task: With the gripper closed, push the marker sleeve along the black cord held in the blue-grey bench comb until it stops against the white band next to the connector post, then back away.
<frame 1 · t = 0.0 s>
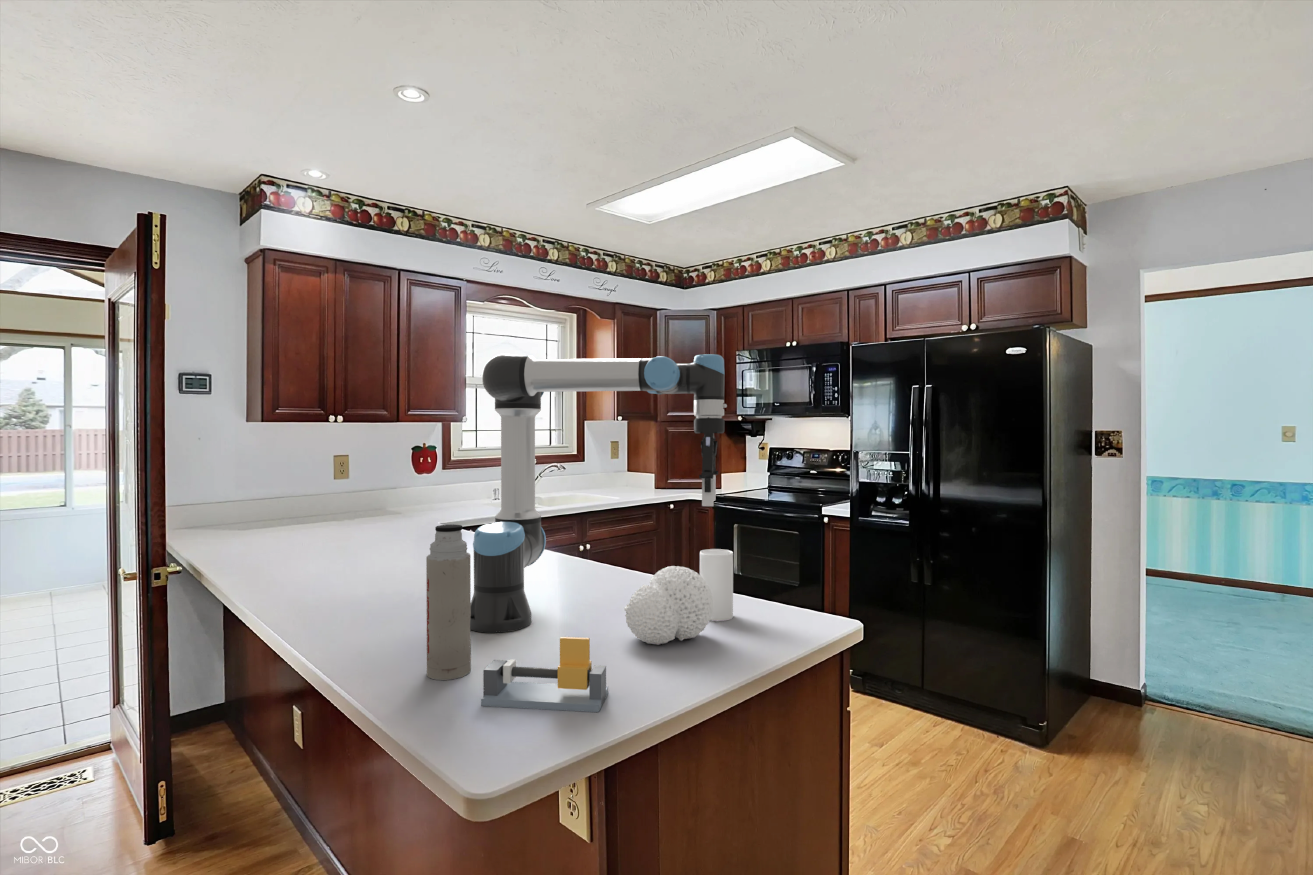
hand: (709, 503, 166), 28 cm above the worktop, fingers open, 13 cm apart
cord rig: (546, 699, 114), on the worktop
marker sleeve: (574, 661, 113), point 7 cm above the worktop, slide at 0.0 cm
thermos bottle: (448, 673, 127), on the worktop
white coral: (671, 641, 147), on the worktop
cup: (716, 617, 165), on the worktop
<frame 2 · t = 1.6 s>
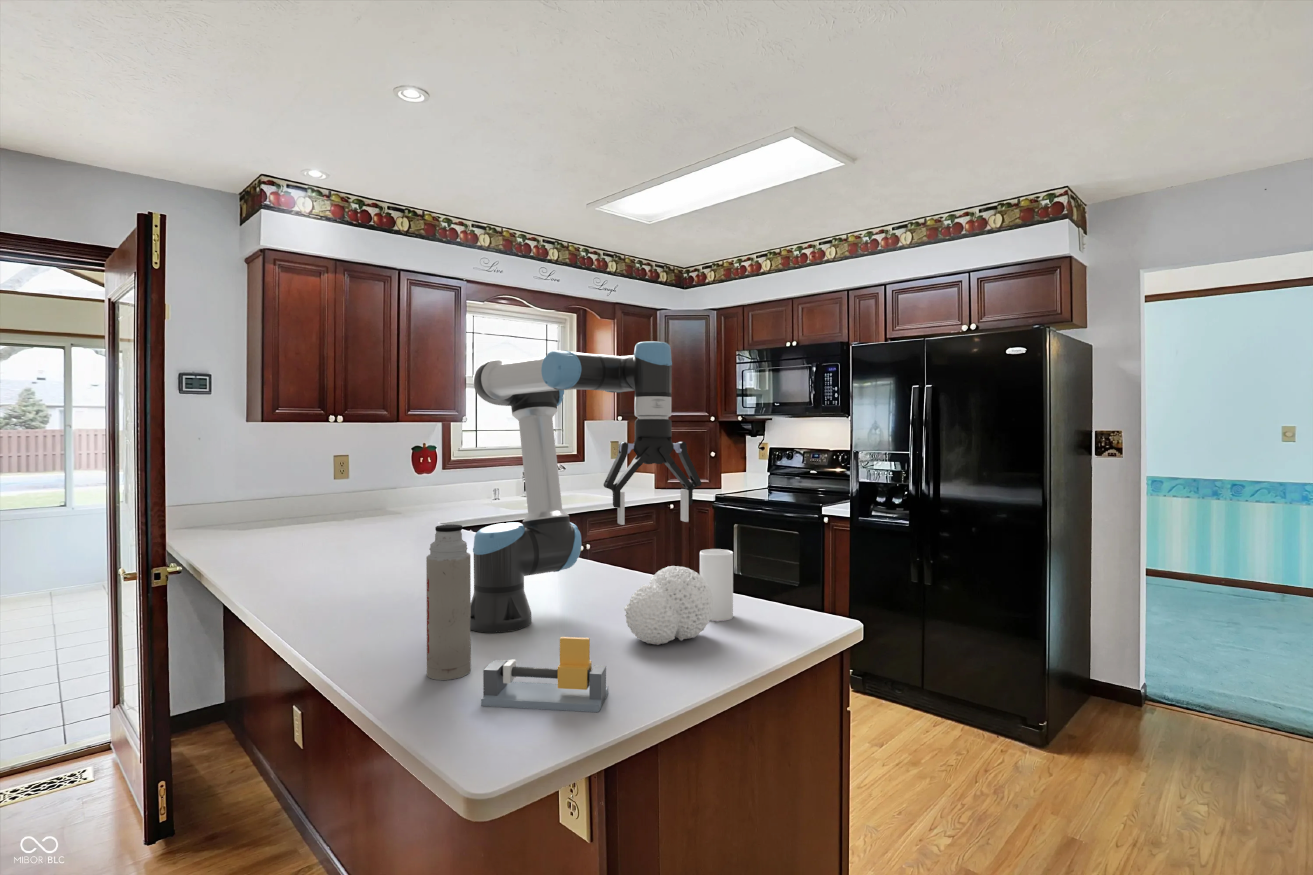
hand: (653, 522, 136), 27 cm above the worktop, fingers open, 13 cm apart
nothing on the worktop moved.
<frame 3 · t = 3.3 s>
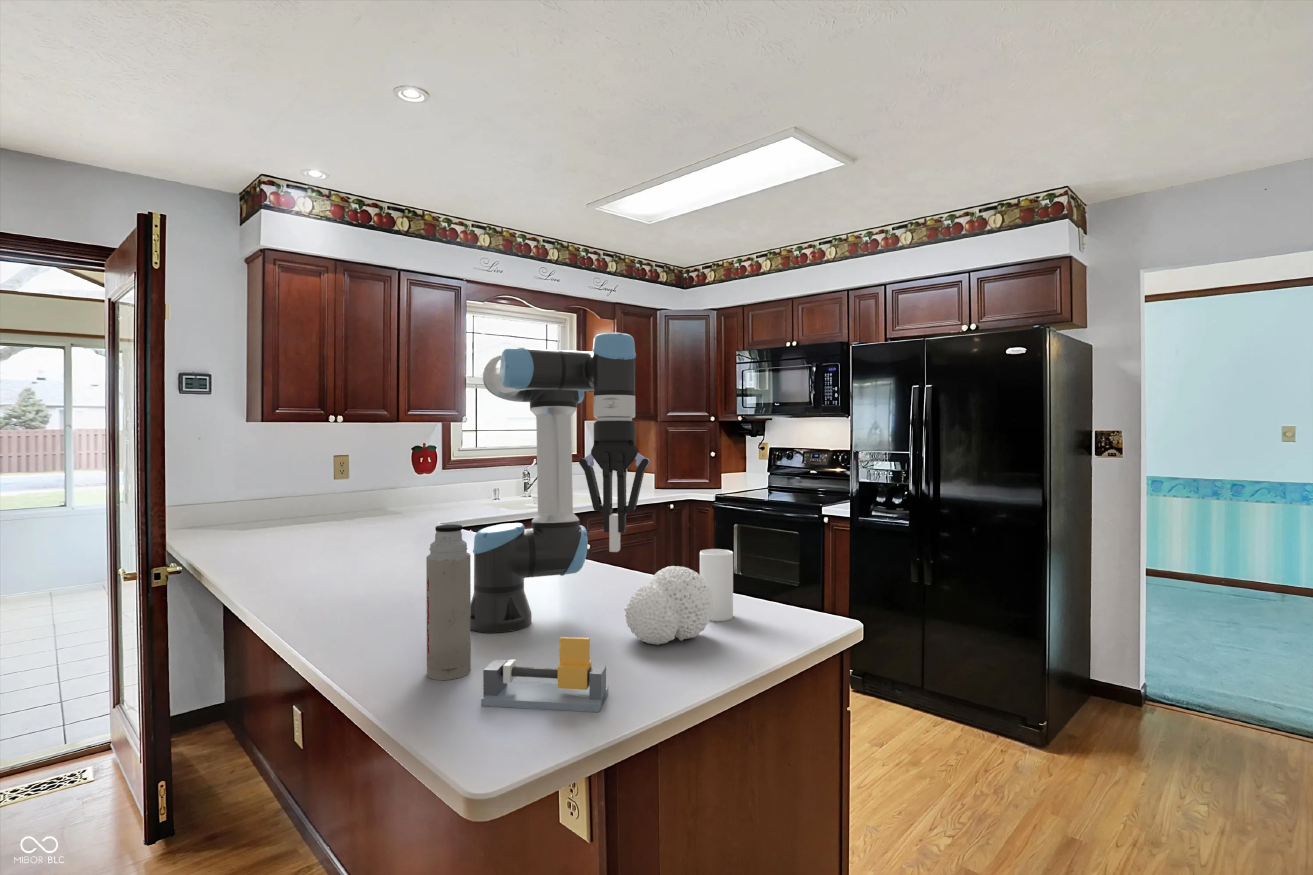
hand: (614, 550, 120), 24 cm above the worktop, fingers closed
nothing on the worktop moved.
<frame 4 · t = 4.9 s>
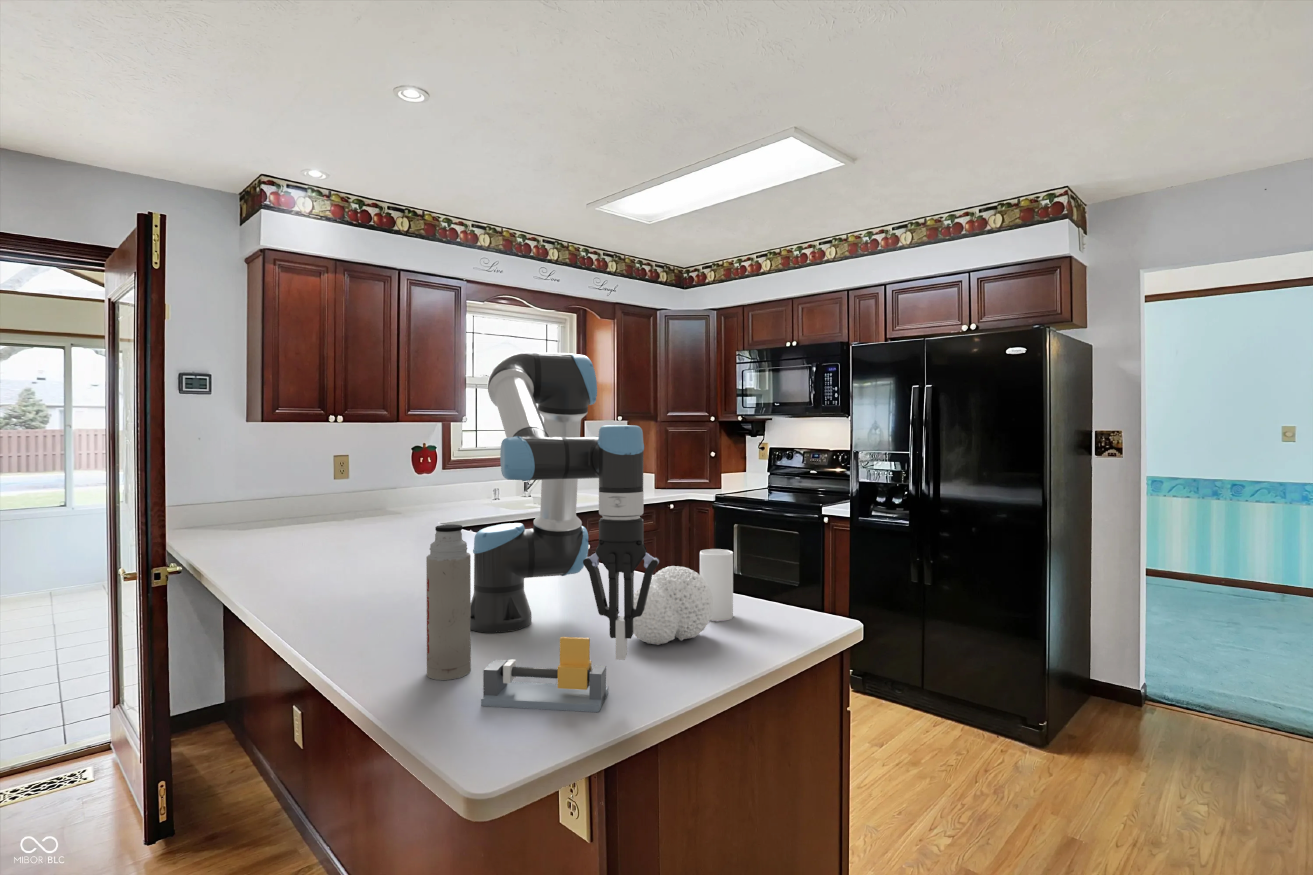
hand: (621, 656, 112), 8 cm above the worktop, fingers closed
nothing on the worktop moved.
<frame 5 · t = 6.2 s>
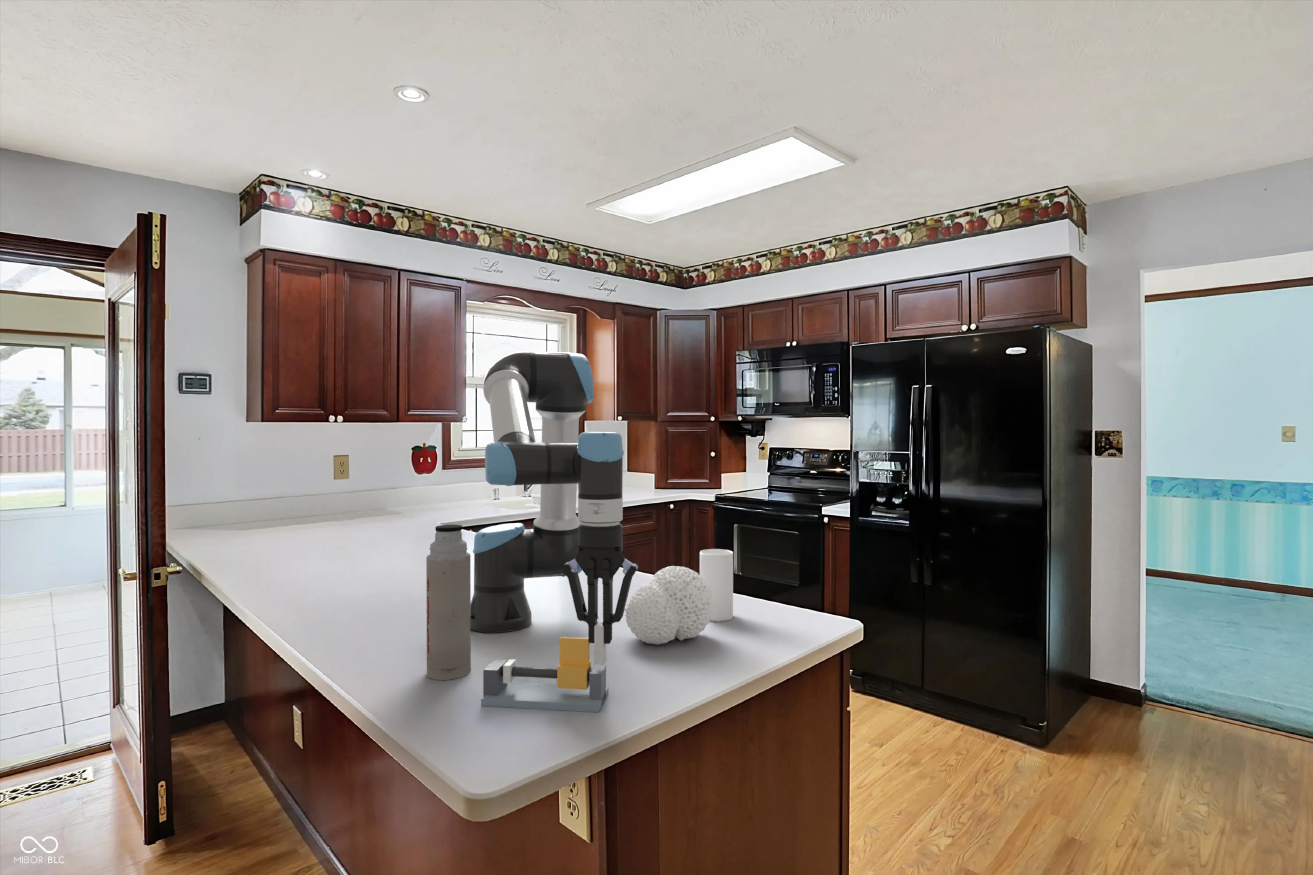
hand: (600, 661, 113), 7 cm above the worktop, fingers closed
marker sleeve: (574, 661, 113), point 7 cm above the worktop, slide at 0.1 cm, touching gripper
everything else where it was.
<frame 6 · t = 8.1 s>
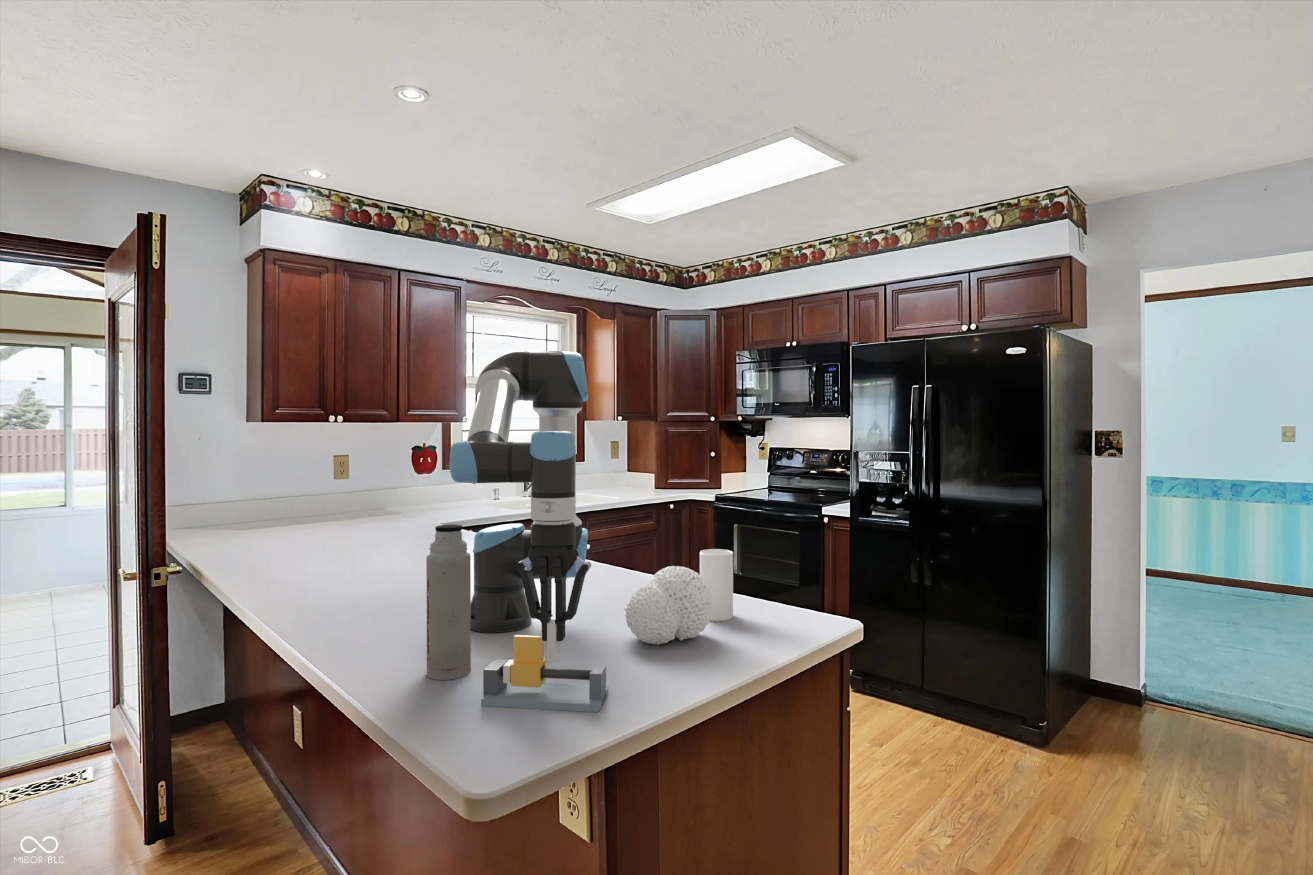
hand: (553, 659, 114), 7 cm above the worktop, fingers closed
marker sleeve: (528, 659, 114), point 7 cm above the worktop, slide at 8.1 cm, touching gripper
everything else where it was.
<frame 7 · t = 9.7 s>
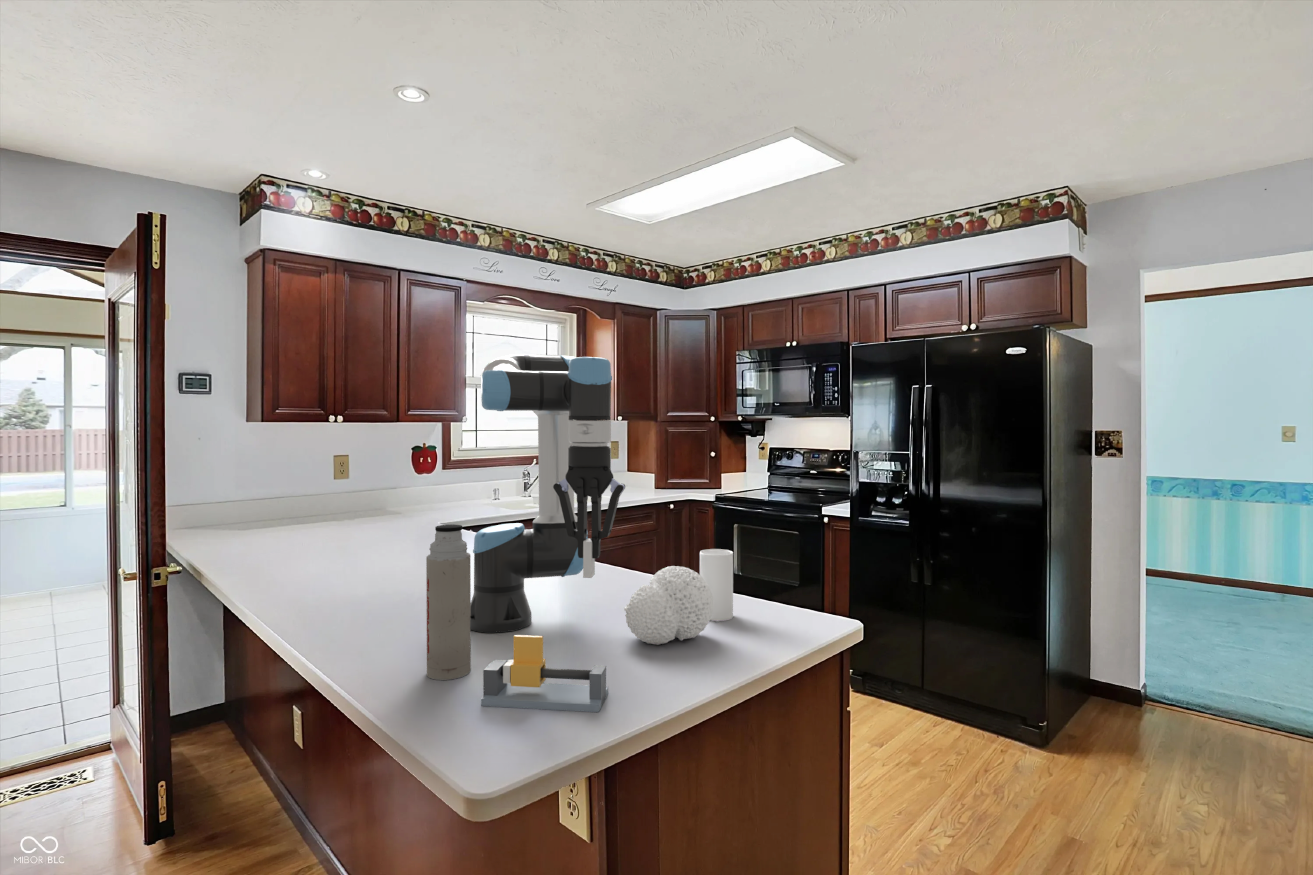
hand: (588, 575, 120), 20 cm above the worktop, fingers closed
marker sleeve: (528, 659, 114), point 7 cm above the worktop, slide at 8.1 cm
everything else where it was.
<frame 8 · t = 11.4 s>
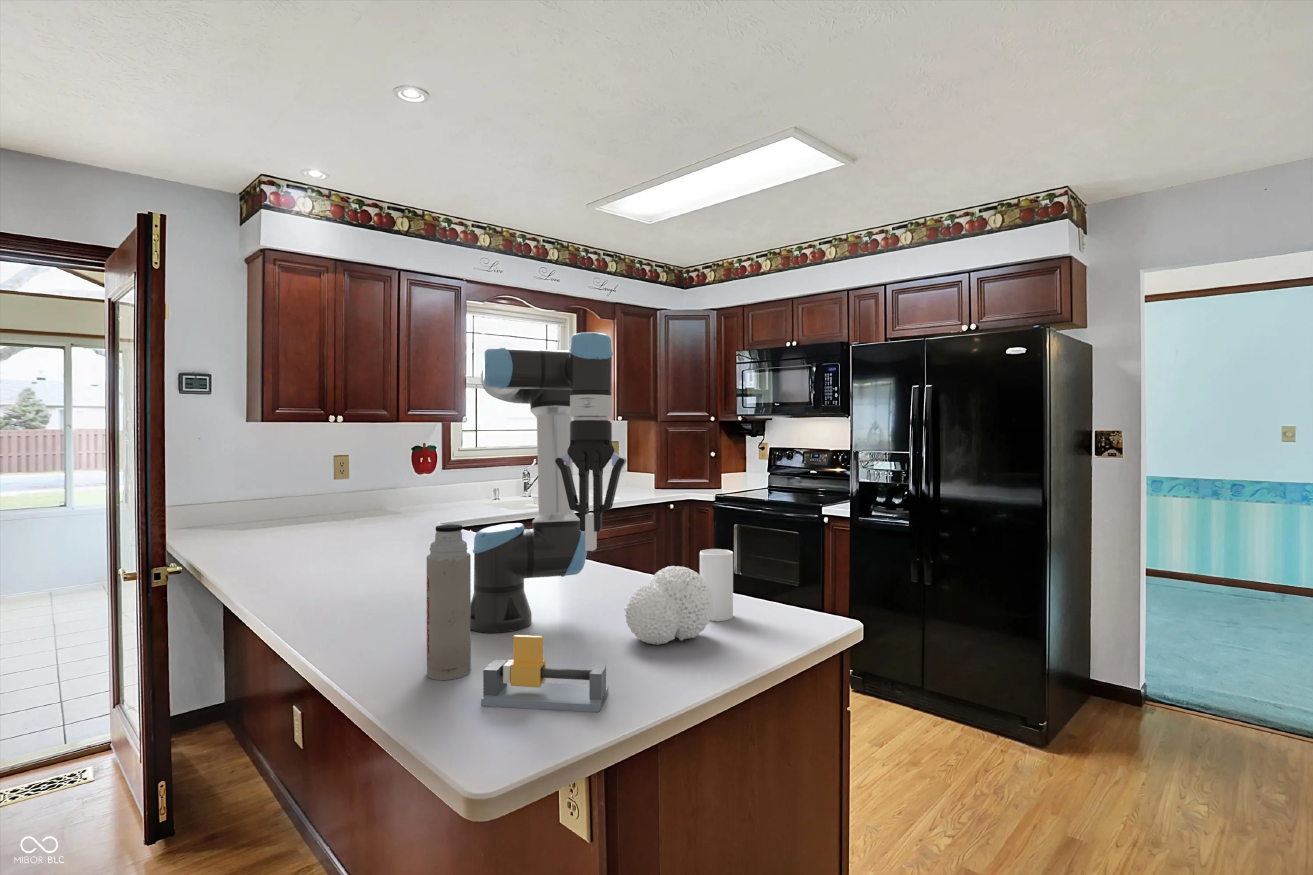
hand: (590, 549, 121), 24 cm above the worktop, fingers closed
nothing on the worktop moved.
at the end: marker sleeve slide at 8.1 cm; marker sleeve touching nothing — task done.
